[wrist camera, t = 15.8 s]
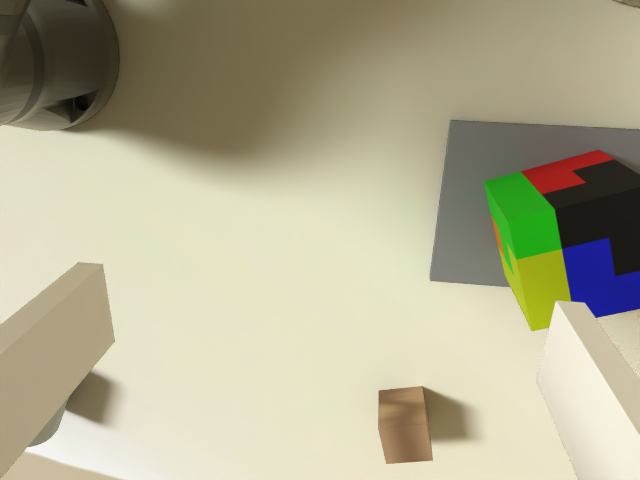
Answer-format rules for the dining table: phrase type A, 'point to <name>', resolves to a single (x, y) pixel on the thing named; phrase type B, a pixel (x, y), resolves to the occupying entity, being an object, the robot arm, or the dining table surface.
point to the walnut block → (404, 425)
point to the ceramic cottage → (630, 2)
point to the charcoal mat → (496, 161)
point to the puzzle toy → (569, 235)
